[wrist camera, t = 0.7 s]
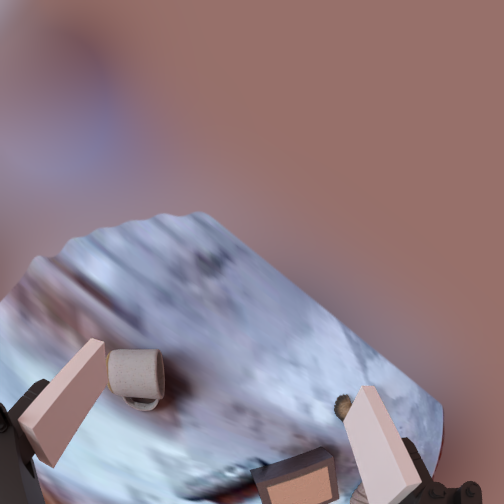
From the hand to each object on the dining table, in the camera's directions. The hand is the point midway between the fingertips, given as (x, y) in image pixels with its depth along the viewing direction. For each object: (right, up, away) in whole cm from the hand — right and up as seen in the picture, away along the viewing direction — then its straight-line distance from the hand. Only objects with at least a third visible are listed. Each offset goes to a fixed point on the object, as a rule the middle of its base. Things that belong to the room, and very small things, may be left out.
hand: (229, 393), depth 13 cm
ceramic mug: (-16, -13, +28) cm, 35 cm away
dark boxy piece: (+9, -37, +28) cm, 47 cm away
